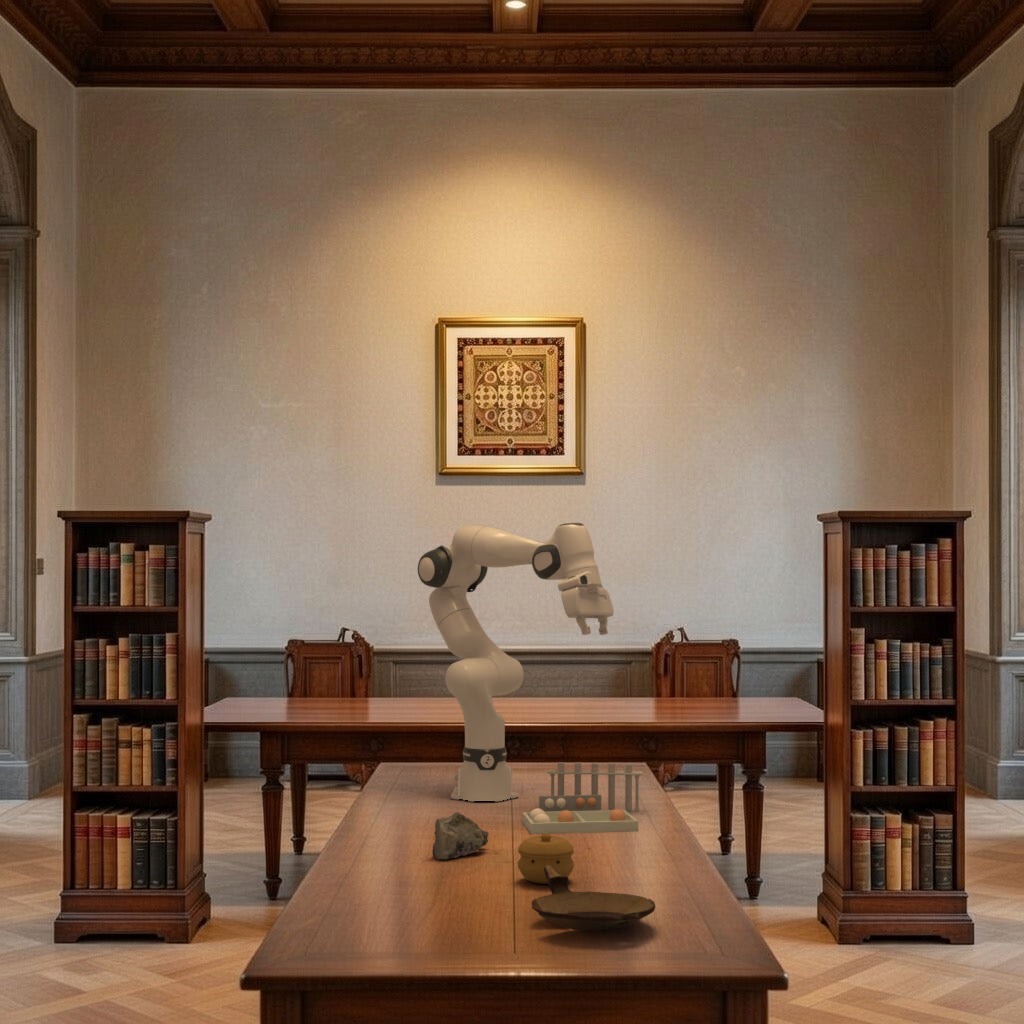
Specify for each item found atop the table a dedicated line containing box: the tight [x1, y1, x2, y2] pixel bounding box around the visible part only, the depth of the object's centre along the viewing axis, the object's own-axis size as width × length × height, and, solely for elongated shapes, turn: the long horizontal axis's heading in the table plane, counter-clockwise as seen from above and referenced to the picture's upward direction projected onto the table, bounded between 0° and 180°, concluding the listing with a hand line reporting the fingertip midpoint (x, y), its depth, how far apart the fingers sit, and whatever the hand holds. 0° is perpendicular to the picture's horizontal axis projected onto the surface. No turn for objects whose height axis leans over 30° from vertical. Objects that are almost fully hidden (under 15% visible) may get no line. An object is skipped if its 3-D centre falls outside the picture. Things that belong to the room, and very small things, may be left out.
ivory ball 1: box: [530, 807, 545, 822], centre depth 343 cm, size 4×4×4 cm
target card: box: [538, 794, 602, 812], centre depth 354 cm, size 1×16×6 cm, turn 98°
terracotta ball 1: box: [558, 810, 574, 822], centre depth 341 cm, size 4×4×4 cm
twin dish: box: [521, 809, 639, 835], centre depth 341 cm, size 15×26×3 cm, turn 98°
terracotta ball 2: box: [609, 808, 625, 821], centre depth 343 cm, size 4×4×4 cm
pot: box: [517, 833, 575, 885], centre depth 287 cm, size 12×12×10 cm
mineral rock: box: [432, 811, 489, 861], centre depth 311 cm, size 13×11×10 cm
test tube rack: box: [546, 761, 643, 815], centre depth 362 cm, size 25×4×13 cm, turn 86°
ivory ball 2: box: [534, 813, 550, 823], centre depth 337 cm, size 4×4×4 cm
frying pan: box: [531, 865, 656, 932], centre depth 255 cm, size 22×30×8 cm
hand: (595, 634), depth 355 cm, fingers open, 8 cm apart
